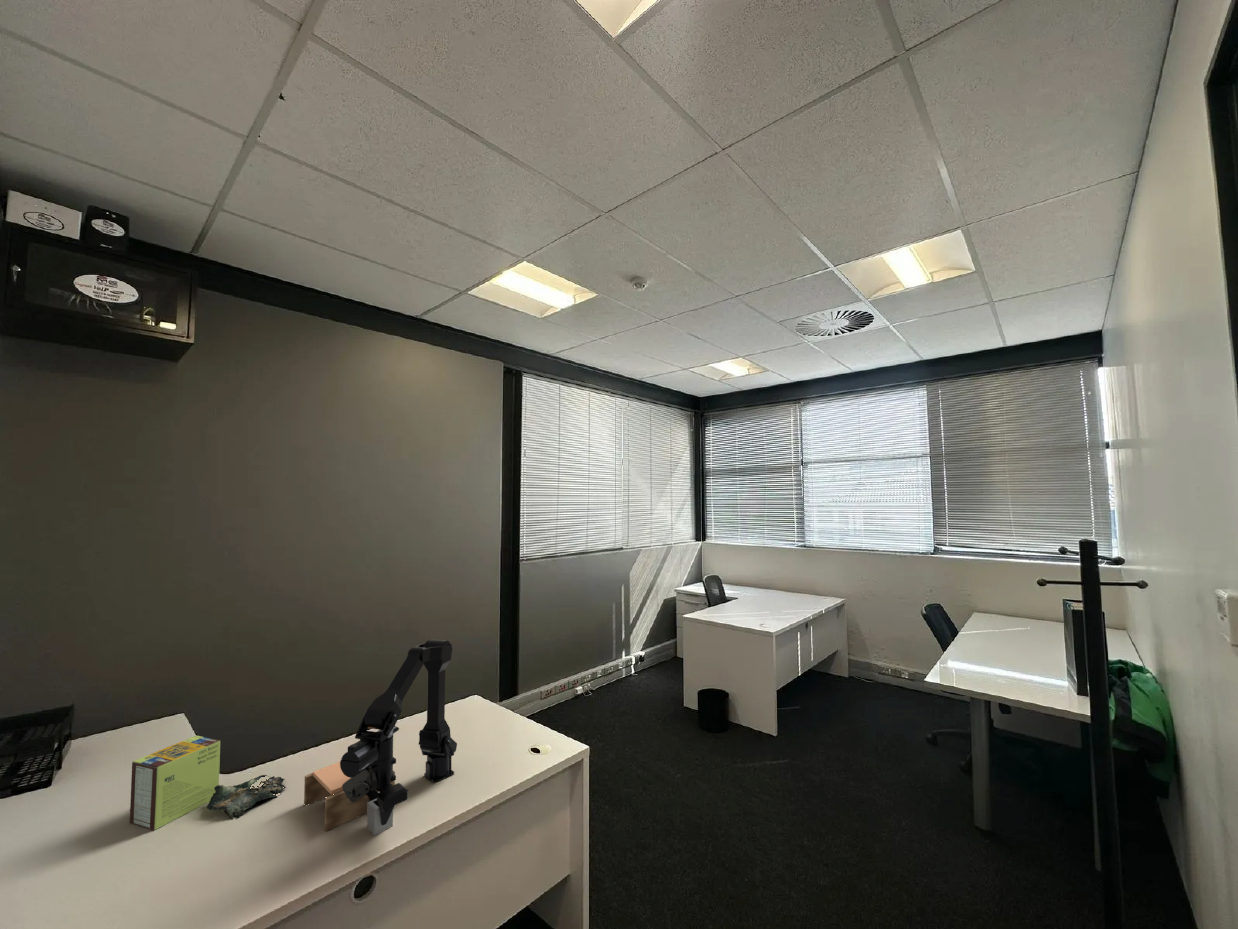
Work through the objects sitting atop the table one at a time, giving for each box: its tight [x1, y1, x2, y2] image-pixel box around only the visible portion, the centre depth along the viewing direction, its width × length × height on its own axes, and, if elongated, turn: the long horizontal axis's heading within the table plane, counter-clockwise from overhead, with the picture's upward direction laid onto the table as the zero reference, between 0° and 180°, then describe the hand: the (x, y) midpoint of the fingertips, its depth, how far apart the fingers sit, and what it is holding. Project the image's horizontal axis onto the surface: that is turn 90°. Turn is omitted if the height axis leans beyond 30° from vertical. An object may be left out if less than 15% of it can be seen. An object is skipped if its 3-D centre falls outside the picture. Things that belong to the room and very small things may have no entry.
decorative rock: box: [206, 774, 287, 820], centre depth 141 cm, size 19×6×15 cm
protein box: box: [129, 735, 221, 831], centre depth 137 cm, size 10×15×16 cm
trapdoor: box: [312, 761, 350, 795], centre depth 139 cm, size 15×14×4 cm
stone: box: [366, 799, 394, 836], centre depth 127 cm, size 4×4×6 cm
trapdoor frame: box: [303, 770, 396, 832], centre depth 138 cm, size 17×18×8 cm
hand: (379, 820), depth 127 cm, fingers closed on stone, 4 cm apart
